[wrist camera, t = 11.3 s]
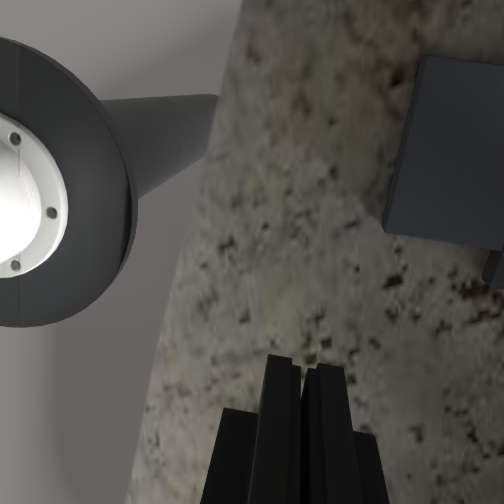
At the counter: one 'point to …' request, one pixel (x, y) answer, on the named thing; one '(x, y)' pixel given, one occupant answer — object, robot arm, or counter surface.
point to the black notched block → (495, 270)
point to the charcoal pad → (451, 156)
